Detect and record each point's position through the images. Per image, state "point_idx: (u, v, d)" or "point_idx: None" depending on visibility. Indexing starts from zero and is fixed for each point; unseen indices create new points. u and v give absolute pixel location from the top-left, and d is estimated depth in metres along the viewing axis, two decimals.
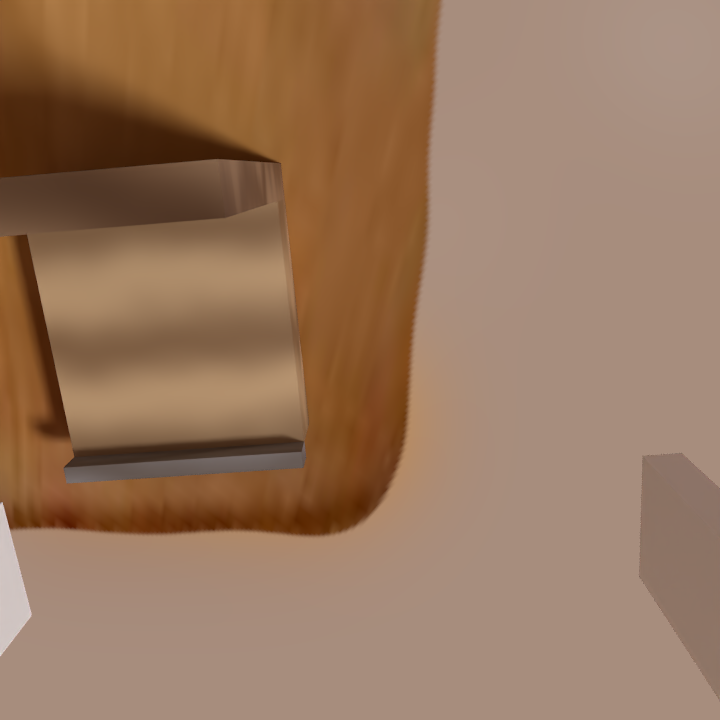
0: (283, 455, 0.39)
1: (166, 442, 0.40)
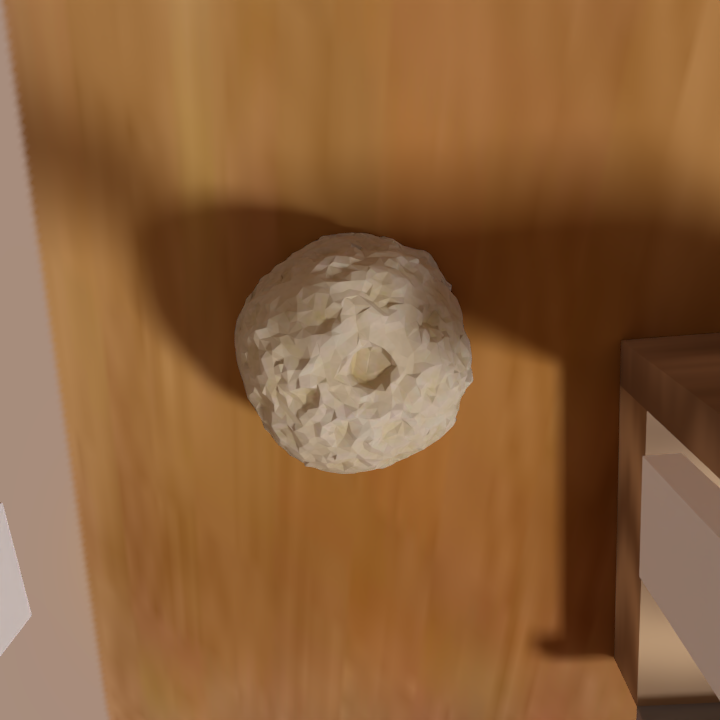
0: None
1: None
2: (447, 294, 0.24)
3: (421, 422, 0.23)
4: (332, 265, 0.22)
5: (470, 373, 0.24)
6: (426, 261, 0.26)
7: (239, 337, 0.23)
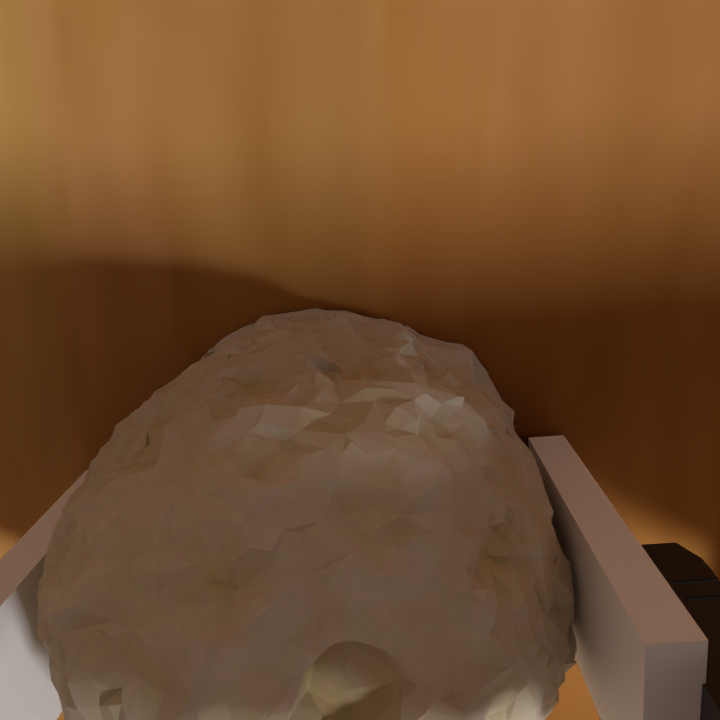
0: None
1: None
2: (522, 463, 0.11)
3: None
4: (258, 432, 0.09)
5: (571, 634, 0.11)
6: (470, 376, 0.13)
7: None
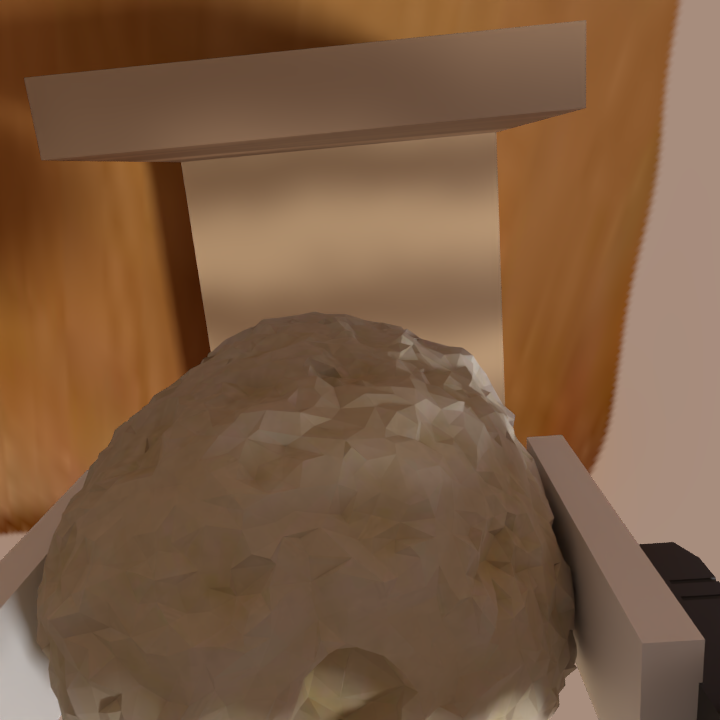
0: None
1: None
2: (522, 468, 0.11)
3: None
4: (258, 439, 0.09)
5: (571, 639, 0.11)
6: (470, 380, 0.13)
7: (39, 596, 0.10)
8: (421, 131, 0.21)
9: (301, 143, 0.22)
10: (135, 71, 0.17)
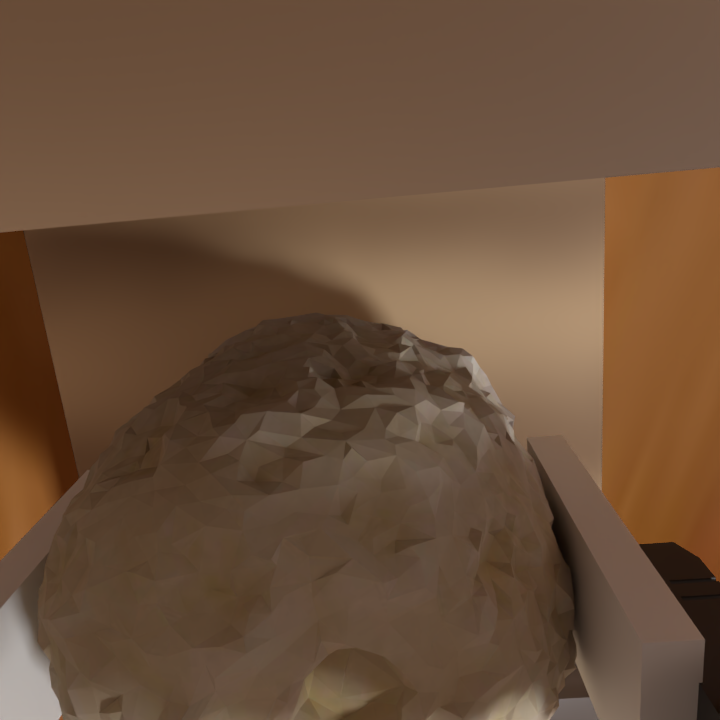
0: (578, 702, 0.18)
1: None
2: (522, 469, 0.11)
3: None
4: (258, 439, 0.09)
5: (571, 639, 0.11)
6: (470, 381, 0.13)
7: None
8: None
9: None
10: None
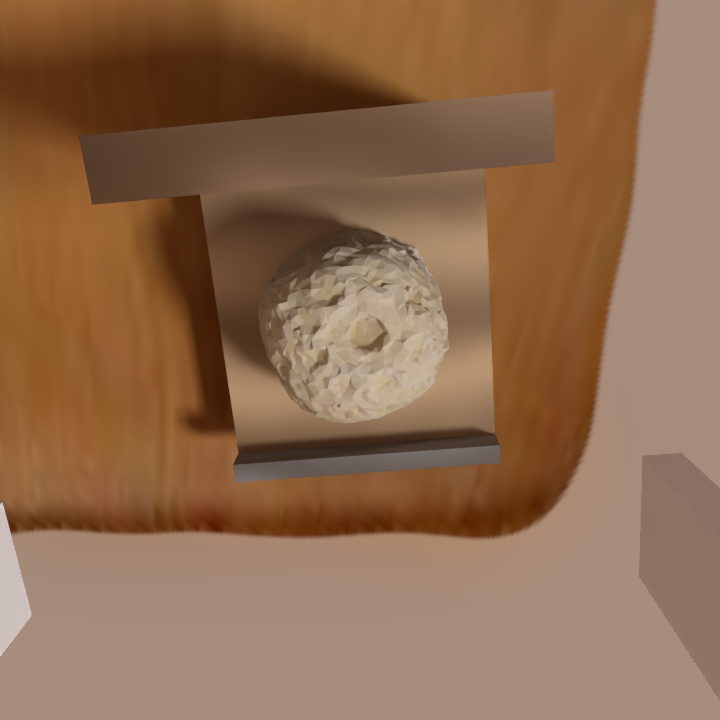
0: (479, 449, 0.35)
1: (341, 436, 0.36)
2: (428, 279, 0.30)
3: (407, 378, 0.29)
4: (338, 254, 0.28)
5: (447, 342, 0.31)
6: (412, 253, 0.32)
7: (264, 311, 0.29)
8: None
9: None
10: (173, 131, 0.20)
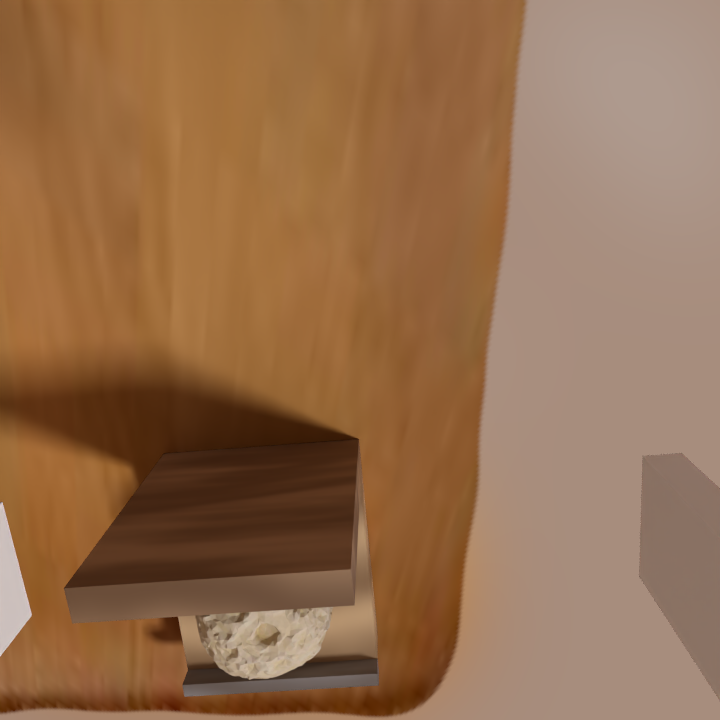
0: (362, 675, 0.47)
1: None
2: None
3: (296, 658, 0.42)
4: None
5: (328, 622, 0.43)
6: None
7: None
8: None
9: None
10: (121, 586, 0.32)
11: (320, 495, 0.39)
